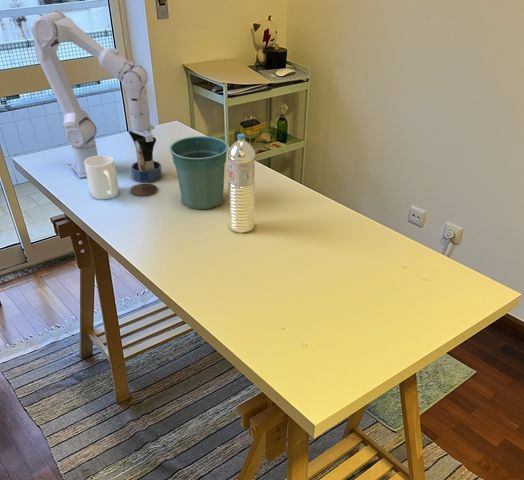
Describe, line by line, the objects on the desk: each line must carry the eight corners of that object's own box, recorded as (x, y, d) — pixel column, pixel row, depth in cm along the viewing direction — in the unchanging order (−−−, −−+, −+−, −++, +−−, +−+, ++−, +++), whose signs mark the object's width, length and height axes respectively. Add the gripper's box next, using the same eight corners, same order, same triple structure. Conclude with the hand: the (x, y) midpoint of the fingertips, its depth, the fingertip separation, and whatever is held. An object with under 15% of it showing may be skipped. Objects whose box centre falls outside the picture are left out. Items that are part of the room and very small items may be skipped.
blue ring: (129, 174, 174) (127, 163, 171) (156, 168, 177) (155, 158, 175) (138, 184, 168) (136, 173, 165) (166, 179, 171) (165, 168, 169)
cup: (113, 185, 167) (107, 153, 160) (128, 200, 159) (123, 167, 152) (87, 191, 163) (80, 158, 156) (101, 207, 156) (94, 173, 149)
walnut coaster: (127, 188, 165) (126, 186, 165) (152, 183, 168) (151, 181, 168) (135, 198, 160) (135, 196, 160) (161, 193, 163) (160, 191, 163)
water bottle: (251, 234, 145) (251, 140, 128) (226, 232, 145) (224, 138, 129) (256, 223, 150) (257, 131, 133) (232, 220, 151) (230, 129, 134)
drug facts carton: (138, 172, 173) (134, 140, 167) (152, 170, 174) (148, 138, 168) (141, 178, 169) (137, 146, 163) (155, 176, 171) (151, 144, 164)
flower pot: (204, 219, 151) (201, 162, 140) (162, 202, 158) (156, 147, 148) (241, 199, 161) (240, 145, 150) (200, 184, 168) (197, 132, 158)
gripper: (160, 117, 156) (165, 163, 165) (144, 103, 166) (149, 147, 175) (137, 121, 153) (143, 167, 162) (121, 106, 163) (128, 151, 172)
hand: (145, 157), depth 168 cm, fingers closed on drug facts carton, 5 cm apart
